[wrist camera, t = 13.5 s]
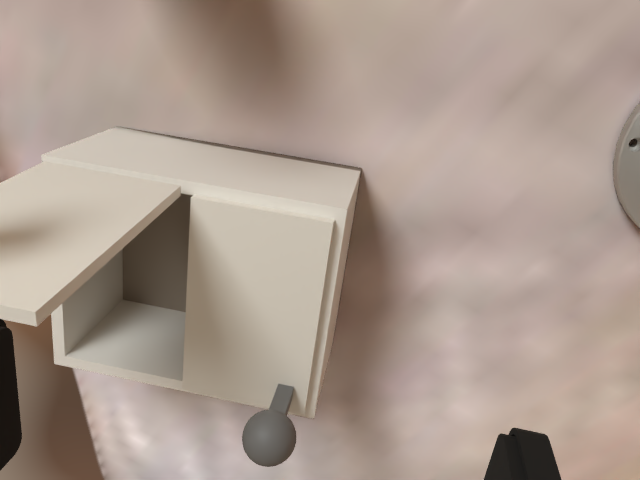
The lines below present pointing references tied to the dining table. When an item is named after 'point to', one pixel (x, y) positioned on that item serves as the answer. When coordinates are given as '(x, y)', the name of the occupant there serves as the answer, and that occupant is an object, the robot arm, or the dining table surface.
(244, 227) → the flap
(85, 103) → the dining table surface
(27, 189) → the flap
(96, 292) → the carton
